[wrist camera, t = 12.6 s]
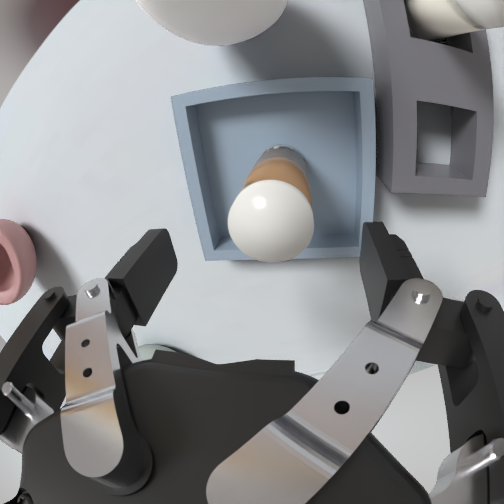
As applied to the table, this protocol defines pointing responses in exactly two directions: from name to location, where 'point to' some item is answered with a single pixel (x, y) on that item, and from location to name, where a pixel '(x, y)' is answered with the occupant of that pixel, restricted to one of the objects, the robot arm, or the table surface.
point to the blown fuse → (274, 207)
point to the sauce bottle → (214, 18)
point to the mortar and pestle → (15, 262)
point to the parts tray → (289, 133)
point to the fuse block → (435, 91)
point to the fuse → (452, 17)
